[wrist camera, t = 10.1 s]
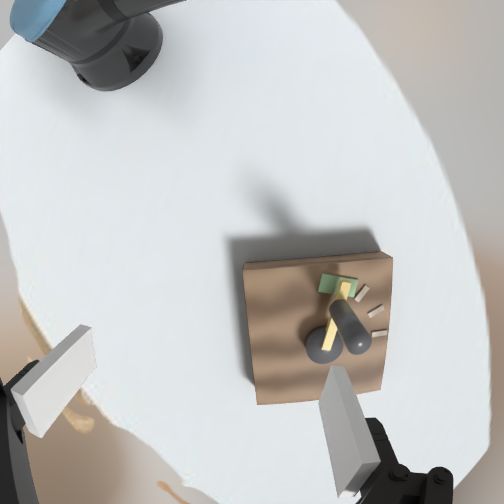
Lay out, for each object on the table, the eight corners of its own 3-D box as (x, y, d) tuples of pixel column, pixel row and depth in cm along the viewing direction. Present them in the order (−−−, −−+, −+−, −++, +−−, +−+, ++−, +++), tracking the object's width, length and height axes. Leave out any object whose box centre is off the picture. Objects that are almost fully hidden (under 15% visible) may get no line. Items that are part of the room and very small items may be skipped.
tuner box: (244, 263, 41) (242, 271, 37) (382, 251, 40) (393, 258, 36) (257, 390, 46) (257, 406, 42) (373, 376, 45) (380, 390, 40)
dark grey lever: (300, 354, 39) (311, 406, 28) (323, 273, 37) (347, 307, 26) (334, 358, 39) (353, 409, 28) (359, 280, 37) (392, 314, 26)
